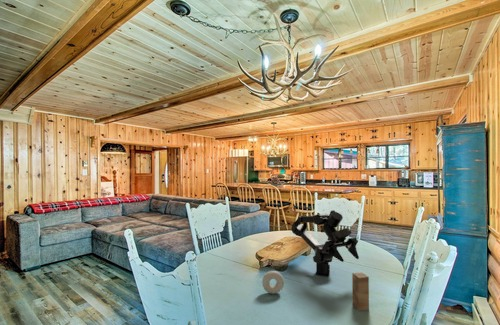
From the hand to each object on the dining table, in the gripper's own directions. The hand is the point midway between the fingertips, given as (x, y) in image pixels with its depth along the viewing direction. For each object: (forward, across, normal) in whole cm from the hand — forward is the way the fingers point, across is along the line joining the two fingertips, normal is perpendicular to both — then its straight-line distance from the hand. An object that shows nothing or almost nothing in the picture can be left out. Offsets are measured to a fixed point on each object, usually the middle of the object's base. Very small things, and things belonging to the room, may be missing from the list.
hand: (350, 260), depth 115 cm
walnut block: (+18, -7, +4) cm, 20 cm away
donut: (0, -35, +18) cm, 39 cm away
